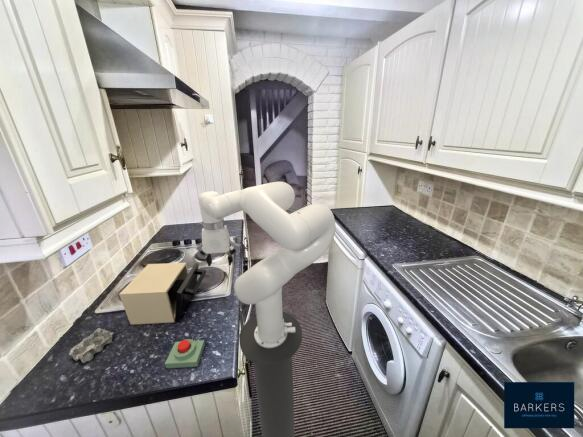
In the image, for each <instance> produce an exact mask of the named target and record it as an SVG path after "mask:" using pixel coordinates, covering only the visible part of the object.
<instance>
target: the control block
mask: <svg viewBox="0 0 583 437" xmlns="http://www.w3.org/2000/svg"><path fill="white" fill-rule="evenodd" d="M184 340H188V341H189V342H190V349H189V350H188V351H187V352H185V353H180V352H179V350H178V344H179V343H180V342H181V341H175V342H174V343H173V346H172V348H171V350H170V352H169V354H168V355H167V358H166V360H165V362H164V367H165V368H166V369H177V368H195V367H197V368H198V367H199V364H200V361H201V358H202V355H203V353H204V350H205V346H206V343H205V342H206V341H205V340H204V339H202V340H194V339H191V338H186V339H184Z"/></svg>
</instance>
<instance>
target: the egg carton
mask: <svg viewBox="0 0 583 437" xmlns="http://www.w3.org/2000/svg"><path fill="white" fill-rule="evenodd" d="M113 335H114V332H113V331H112V332H111V331H109V330H107V329H103V328H101V327H97V329H95V330H94V331H93V333H91V334H89V336H86V337H85V338H84V339H83V340H82V341H81V342H79V343H78V344H76V345H74V346H73V347H72V348H71V349H70V351H69V353H68V355H69V356H72V358H73V360H74V361H76V362H77V361H79V360H80V361H81V363H83V364H85V363H87V362H89V361H91V360H93V359H94V355H95V354H97V353H100V352H102V351H103V350H104V347H105V346H106V345H108V344H111V343H112V342H113V338H114V336H113Z"/></svg>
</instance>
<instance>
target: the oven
mask: <svg viewBox="0 0 583 437" xmlns="http://www.w3.org/2000/svg"><path fill="white" fill-rule="evenodd" d="M187 264H188V263H187V262H168V263H167V262H166V263H147V264H146V266H144V267H143V268H142V270H141V271H140V272H139V273H138V274H137V275H136V276H135V277H134V278H133V279H132V280H131V281H130V282H129V283H128V284H127V285H126V286H125V287H124V288H123V289H122V290H121V291H120V292H119V294H118V296H119V298H120V300H121V303H122V306H123V308H124V311H125V315H126V316H127V319H128V321H129V324H130V325H149V324H150V325H151V324H167V323H168V324H169V323H176V322H175V313H176V299H177V291H178V290H179V288H180V287H181V285H182V283H183V282H184V280H185V279H186V277H187V275H188V274H189V270H188V269H189V268H188V265H187Z"/></svg>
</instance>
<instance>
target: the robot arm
mask: <svg viewBox="0 0 583 437" xmlns="http://www.w3.org/2000/svg"><path fill="white" fill-rule="evenodd" d="M295 198H296V195H295V190H294V188H293V187H292V186H291V185H290V184H289V183H287V182H285V181H273V182H272V181H271V182H268V183H267V182H266V183H263V184H259V185H254V186H248V187H246V188H243V189H239V190H234V191H230V192H226V193H223V194H220V193H219V192H218V191H214V190H212V191H211V190H210V191H204V192H201V193H200V194H199V195H198V203H199V207H200V214H201V219H202V221H199V226H202V228H201V242H200V244H198V246H196V251H197V252H199V253H200V254H201V255H202V256H203V258H205V261H206V264H207V267H211V265H212V263H213V260H212V259H213V258H212V254H226V255H227V262H228V266H231V265H232V263H233V262H234V256H233V255H234V254H235V253H236V252H237V250H238V249H239V247H240V245H239V243H236V242H234V241H233V240H231V237H230V232H229V230H228V226H227V225H226V224H225V219H224V218H226V217H229V216H231V215H233V214H236V213H239V212H242V211H243V212H244V213H245V214H247V215H248V217H249V218H250V219H251V220H252V221H253V222H254V223H255V224H257V226H259V228H261V229H262V230H263V231H264V232H266V234H268V235H269V236H270V237H271V238H272V239H273V240H274V241H275V242H277V243H278V244H279V245H280V246H282V247H281V248H279V249H278V250H276V251H274V252H272V253H270V254H269V255H267V256H265V257H264V258H262V259H261V260H260V261H258V262H256V263H255V264H253V266H251V267H249V268H248V269H247V270H245V272H243V273H242V274H241V275H239V276H238V277H237V278H236V279H235V281H234V285H233V291H234V295H235V297H236V298H237V300H238V301H239V302H240V303H242V304H244V305H250V306H253V305H254V306H255V315H256V316H257V325H258V326H257V327H256V329H255V332H254V337H255V341H256V342H257V343H258V345H260V346H262V347H264V348H274V347H277V346H279V345H281V344H282V343H283V342H284V341H285V340H286V338H287V333H290V332H291V333H295V327H290V326H292V323H286V322H284V319H283V312H284V311H283V287H284V286H285V285H286V284H287V283H288V282H289V281H290V280H291V279H292V278H293V277H294V276H295V275H297V274H298V273H299V272H301V271H303V270H304V269H306V268H307V267H309V266H310V265H312V264H313V263H315V262H316V261H318V260H319V259H321V257H322V256H323V255H324V254H325V253H326V252H327V251H328V249H329V248H330V246H331V244H332V243H333V240H334V238H335V233H336V219H335V216H334V212H332V210H331V209H330V207H329V206H327V205H325V204H321V203H313V204H308V205H306V206H303V207H302V208H299V209H297V210H295V211H293V212H292V213H288V212H287V211H288V210H289V209H290V208H291V207H292V206H293V204H294V203H295V200H296V199H295ZM231 247H232V249H231ZM287 326H289V328H287Z"/></svg>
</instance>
